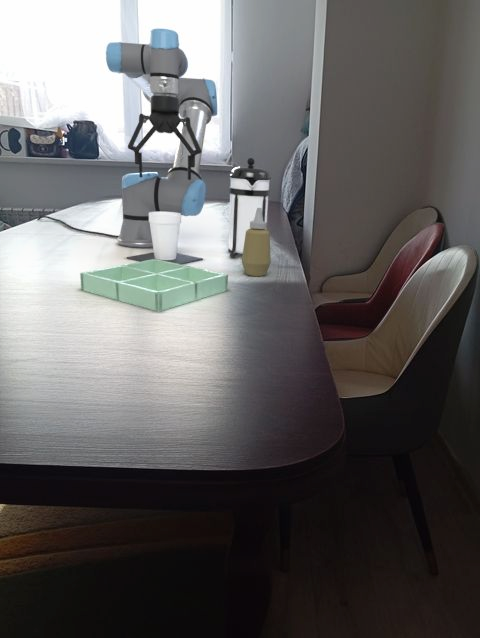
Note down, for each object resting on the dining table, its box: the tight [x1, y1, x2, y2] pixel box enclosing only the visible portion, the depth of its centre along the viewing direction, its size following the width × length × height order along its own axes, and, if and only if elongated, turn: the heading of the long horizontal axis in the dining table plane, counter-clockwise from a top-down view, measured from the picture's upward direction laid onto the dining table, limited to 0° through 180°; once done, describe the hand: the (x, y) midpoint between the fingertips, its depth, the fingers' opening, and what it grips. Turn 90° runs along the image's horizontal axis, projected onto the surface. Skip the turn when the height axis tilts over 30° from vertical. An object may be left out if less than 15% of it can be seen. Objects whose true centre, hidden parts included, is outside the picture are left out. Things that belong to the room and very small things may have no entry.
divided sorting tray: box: [79, 259, 229, 313], centre depth 121 cm, size 24×24×4 cm
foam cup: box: [149, 212, 182, 260], centre depth 152 cm, size 10×9×13 cm
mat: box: [126, 251, 204, 265], centre depth 155 cm, size 16×16×1 cm
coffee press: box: [227, 157, 272, 259], centre depth 164 cm, size 17×16×30 cm
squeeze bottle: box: [241, 208, 272, 277], centre depth 140 cm, size 8×8×18 cm
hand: (165, 178), depth 147 cm, fingers open, 13 cm apart
